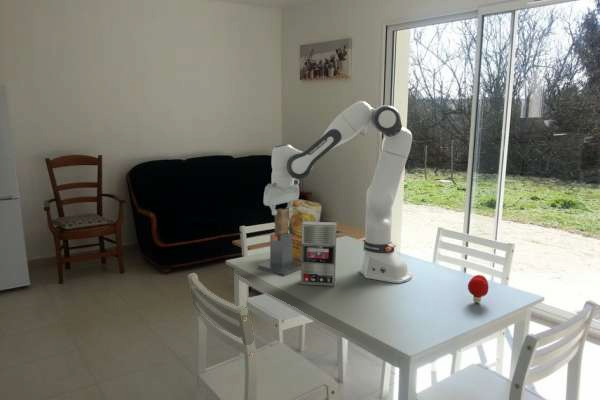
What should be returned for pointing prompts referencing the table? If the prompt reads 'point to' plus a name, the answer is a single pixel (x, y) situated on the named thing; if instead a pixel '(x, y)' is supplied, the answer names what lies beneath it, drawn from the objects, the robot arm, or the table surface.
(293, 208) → the pancake mix bag
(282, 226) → the post
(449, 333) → the table surface
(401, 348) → the table surface
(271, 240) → the stand
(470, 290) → the light bulb
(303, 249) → the cassette tape recorder
